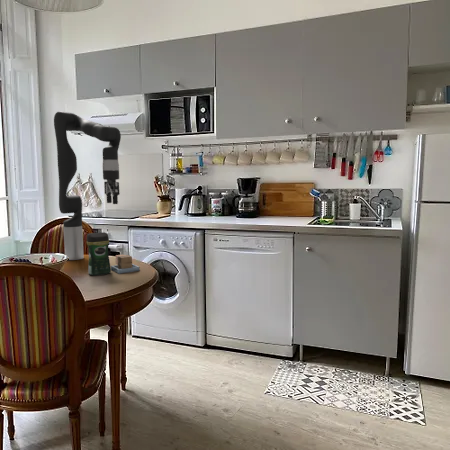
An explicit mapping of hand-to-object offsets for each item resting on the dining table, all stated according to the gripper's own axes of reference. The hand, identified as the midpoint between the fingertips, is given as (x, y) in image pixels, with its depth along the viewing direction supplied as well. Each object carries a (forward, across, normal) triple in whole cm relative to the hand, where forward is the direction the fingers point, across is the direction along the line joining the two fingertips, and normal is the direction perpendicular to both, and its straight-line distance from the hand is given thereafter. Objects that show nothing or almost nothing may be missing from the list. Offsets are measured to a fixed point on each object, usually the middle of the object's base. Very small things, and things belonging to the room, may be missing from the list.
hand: (112, 203), depth 207 cm
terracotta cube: (+30, -2, +4) cm, 31 cm away
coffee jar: (+30, +14, -12) cm, 35 cm away
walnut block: (+30, +14, 0) cm, 33 cm away
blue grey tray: (+30, +14, 0) cm, 33 cm away
